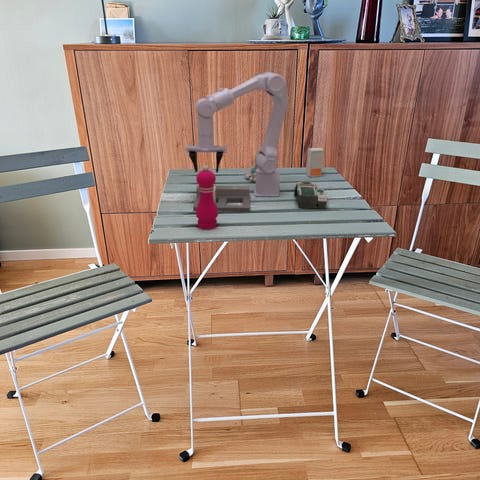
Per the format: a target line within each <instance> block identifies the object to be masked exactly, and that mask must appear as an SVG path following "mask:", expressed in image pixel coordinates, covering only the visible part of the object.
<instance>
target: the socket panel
mask: <svg viewBox="0 0 480 480" xmlns="http://www.w3.org/2000/svg"><path fill="white" fill-rule="evenodd" d="M198 186H199V184H197V186H196V189H195V190H196V197H195V199H194V203H193V206H192V210H193V211H192V212H196V208H197V205H198V203H199V200H200V191H199V190H198V189H199V188H198ZM215 186H216V203H217V204H216V206H217V209H218V212H234V213H235V212H237V213H238V212H242V213H244V212H245V213H247V212H249V213H250V212H251V205H250V204H251V203H250V202H251V198H250V197H251V196H250V195H251V192H250V190H251V189H250V188H251V187H250V185H215ZM229 202H230V203H231V202H232V203H233V202H234V203H238V202H239V203H240V202H241V203H242V205H241V204H238V205H237V204H236V205H234V204H227V203H229Z"/></svg>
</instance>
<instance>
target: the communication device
mask: <svg viewBox="0 0 480 480" xmlns="http://www.w3.org/2000/svg"><path fill="white" fill-rule="evenodd" d="M327 194H328V193H327V192H326V190H325V189H324V188H318V186H317V184H316V183H315V182H312V181H306V180H305V181H299V182H297V183H296V184H295V186H294V192H293V197H294V198H296V202H297V203H296V205H297V207H298V208H299V209H316V208H317V209H320V210H323V209H324V210H325V209H326V208H327V204H328V203H327V201H328V199H327Z"/></svg>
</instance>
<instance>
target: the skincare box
mask: <svg viewBox="0 0 480 480" xmlns="http://www.w3.org/2000/svg"><path fill="white" fill-rule="evenodd" d="M324 155H325V149H323V148H322V147H311V148H310V147H309V148H307V156H306V167H305V175H306V176H307V177H309V178H311V177H313V178H314V177H322V173H323V165H324V164H323V163H324Z"/></svg>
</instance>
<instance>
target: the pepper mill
mask: <svg viewBox="0 0 480 480" xmlns="http://www.w3.org/2000/svg"><path fill="white" fill-rule="evenodd" d="M209 169H210V168H209V166H208V165H206V164H205V165H203V167H202V169H201V170H200V171H198V172H197V174H196V179H195V181H196V183H197V185H199V186H198V188H199V189H198V190H199V191H200V200H199V203H198V205H197V208H196V211H195V216H196V218H197V227H198V228H199V229H203V230H211V229H215V228H216V227H217V226H218V220H217V218H218V216H219V211H218V209H217V206H216V205H217V203H216V204H215V202H214V199H213V191H214V186H215V183H216V181H217V180H216V174H215V173H214V172H213V171H212V170H209Z"/></svg>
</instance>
